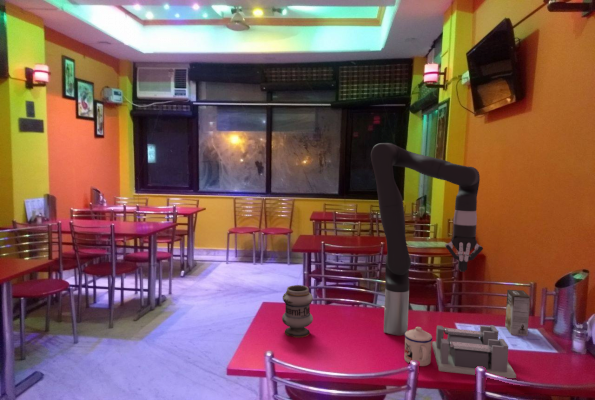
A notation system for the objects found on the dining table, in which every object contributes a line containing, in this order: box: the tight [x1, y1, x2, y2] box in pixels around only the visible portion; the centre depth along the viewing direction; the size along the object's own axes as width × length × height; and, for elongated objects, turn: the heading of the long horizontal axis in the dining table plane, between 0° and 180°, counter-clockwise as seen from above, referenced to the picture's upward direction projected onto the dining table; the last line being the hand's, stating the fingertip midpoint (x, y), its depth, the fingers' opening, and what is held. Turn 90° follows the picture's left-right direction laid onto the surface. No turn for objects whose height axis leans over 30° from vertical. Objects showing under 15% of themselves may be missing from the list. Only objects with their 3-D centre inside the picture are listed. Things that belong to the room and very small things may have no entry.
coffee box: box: [504, 289, 531, 337], centre depth 170 cm, size 9×6×16 cm
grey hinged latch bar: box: [443, 326, 483, 338], centre depth 149 cm, size 16×3×2 cm, turn 78°
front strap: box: [448, 341, 492, 352], centre depth 137 cm, size 16×3×2 cm, turn 78°
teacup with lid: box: [404, 326, 433, 367], centre depth 141 cm, size 12×9×12 cm
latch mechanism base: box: [431, 324, 517, 379], centre depth 143 cm, size 23×20×10 cm
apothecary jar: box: [281, 284, 314, 338], centre depth 165 cm, size 12×12×18 cm
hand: (462, 271), depth 150 cm, fingers closed
